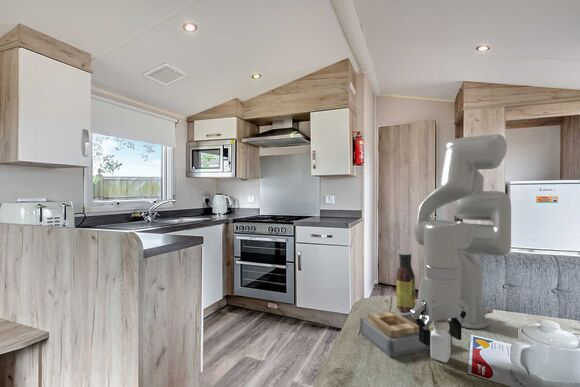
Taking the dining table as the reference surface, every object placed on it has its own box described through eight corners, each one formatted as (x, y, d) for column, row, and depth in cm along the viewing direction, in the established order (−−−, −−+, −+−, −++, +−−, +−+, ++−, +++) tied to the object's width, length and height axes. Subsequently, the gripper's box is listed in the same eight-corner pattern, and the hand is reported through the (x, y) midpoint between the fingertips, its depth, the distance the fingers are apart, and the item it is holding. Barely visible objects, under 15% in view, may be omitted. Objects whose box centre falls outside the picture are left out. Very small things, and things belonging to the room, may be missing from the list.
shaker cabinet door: (393, 326, 91) (393, 311, 91) (419, 343, 81) (419, 326, 81) (367, 330, 88) (367, 315, 88) (390, 348, 78) (390, 331, 78)
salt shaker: (434, 352, 79) (434, 315, 79) (451, 357, 76) (451, 319, 76) (429, 358, 75) (429, 320, 76) (447, 364, 73) (447, 325, 73)
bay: (415, 324, 96) (415, 311, 96) (452, 345, 82) (452, 330, 82) (360, 333, 89) (360, 319, 89) (389, 357, 76) (389, 341, 76)
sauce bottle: (416, 313, 104) (416, 256, 104) (397, 312, 105) (397, 255, 105) (413, 306, 110) (413, 252, 110) (395, 305, 111) (395, 251, 111)
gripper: (454, 266, 82) (454, 329, 82) (401, 271, 77) (401, 338, 77) (479, 273, 75) (479, 342, 75) (422, 279, 70) (423, 353, 70)
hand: (440, 340), depth 76 cm, fingers open, 9 cm apart
